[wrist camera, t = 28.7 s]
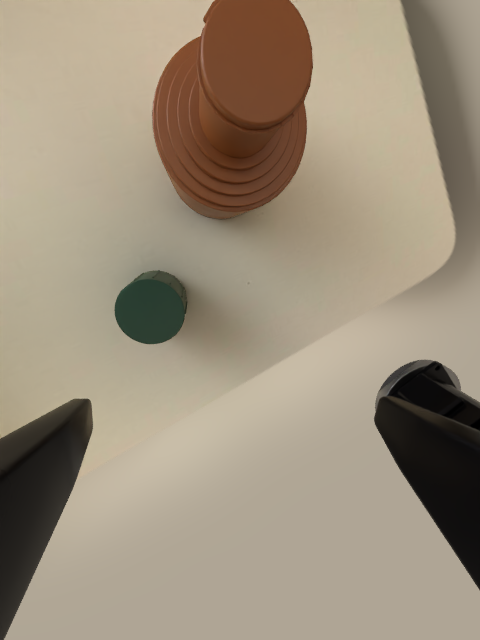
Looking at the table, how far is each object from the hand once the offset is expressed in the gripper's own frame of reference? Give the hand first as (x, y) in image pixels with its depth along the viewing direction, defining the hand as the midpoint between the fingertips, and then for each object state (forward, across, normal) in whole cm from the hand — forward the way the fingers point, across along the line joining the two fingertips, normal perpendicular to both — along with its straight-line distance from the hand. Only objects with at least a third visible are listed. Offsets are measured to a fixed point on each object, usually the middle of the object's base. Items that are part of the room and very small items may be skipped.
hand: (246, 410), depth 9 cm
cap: (+13, +4, 0) cm, 14 cm away
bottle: (+13, 0, -9) cm, 16 cm away
